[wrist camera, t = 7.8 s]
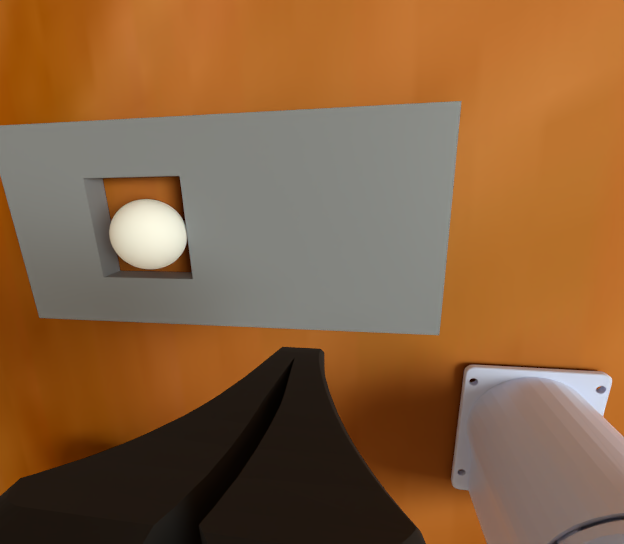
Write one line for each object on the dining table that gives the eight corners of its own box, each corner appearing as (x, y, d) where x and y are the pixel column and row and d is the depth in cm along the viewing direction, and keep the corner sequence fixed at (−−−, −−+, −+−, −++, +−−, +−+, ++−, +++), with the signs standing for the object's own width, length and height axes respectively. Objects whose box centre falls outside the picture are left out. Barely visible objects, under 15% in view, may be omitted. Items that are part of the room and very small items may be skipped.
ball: (120, 259, 20) (187, 250, 22) (116, 286, 17) (195, 273, 19) (104, 195, 19) (178, 190, 20) (96, 212, 15) (185, 204, 17)
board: (433, 323, 20) (439, 335, 18) (58, 309, 24) (39, 317, 22) (452, 107, 17) (461, 101, 15) (13, 130, 20) (-13, 126, 19)
